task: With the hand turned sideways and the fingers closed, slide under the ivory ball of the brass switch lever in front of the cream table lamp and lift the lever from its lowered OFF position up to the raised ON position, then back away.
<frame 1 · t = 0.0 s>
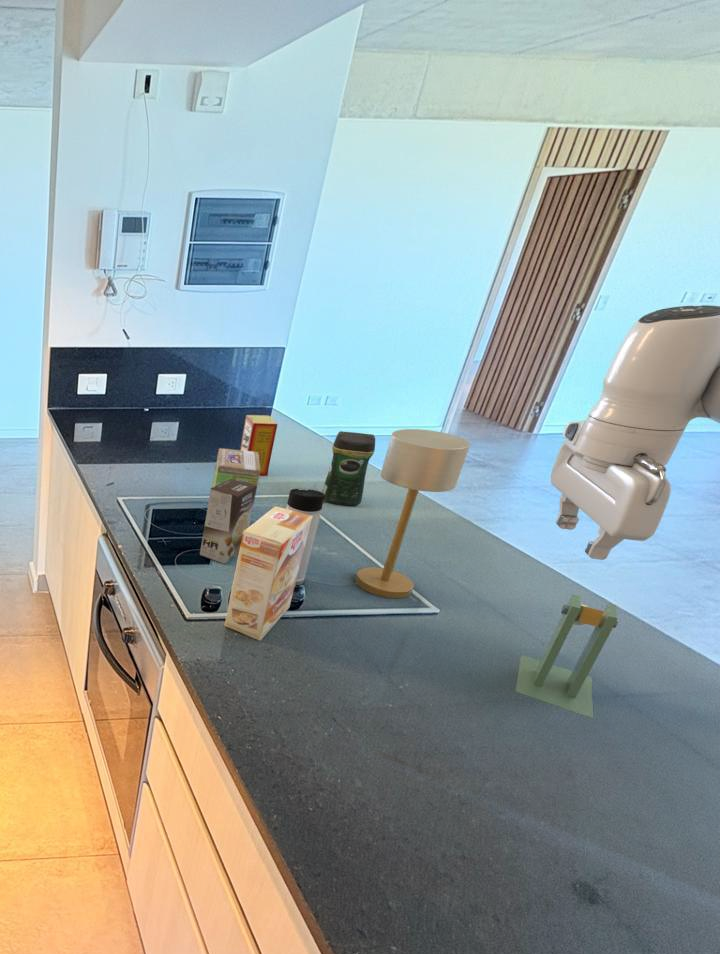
hand: (578, 541, 83), 27 cm above the worktop, tool pointing down, fingers open, 8 cm apart
coffee box: (221, 554, 138), on the worktop
lever: (582, 614, 94), point 12 cm above the worktop, hinge at -25.0°
tea box: (228, 513, 158), on the worktop
table lamp: (383, 585, 125), on the worktop
travel mug: (286, 580, 127), on the worktop
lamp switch: (551, 690, 96), on the worktop
baking soda box: (251, 470, 186), on the worktop
coffee jar: (339, 501, 165), on the worktop
coffeecake box: (257, 617, 115), on the worktop
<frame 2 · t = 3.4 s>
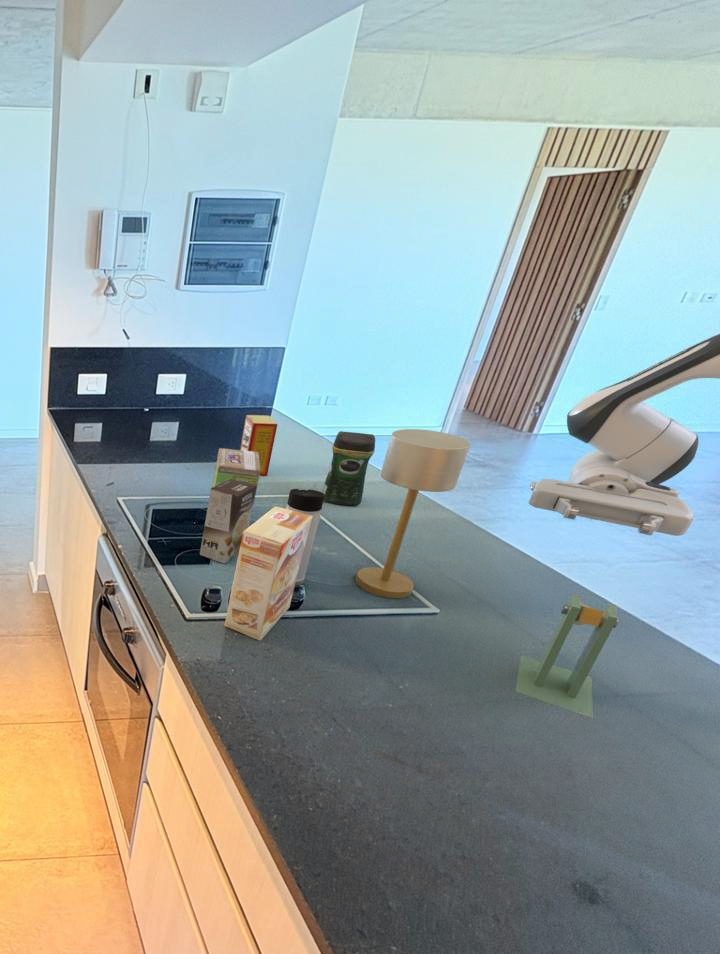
hand: (608, 522, 100), 22 cm above the worktop, tool horizontal, fingers open, 8 cm apart
nothing on the worktop moved.
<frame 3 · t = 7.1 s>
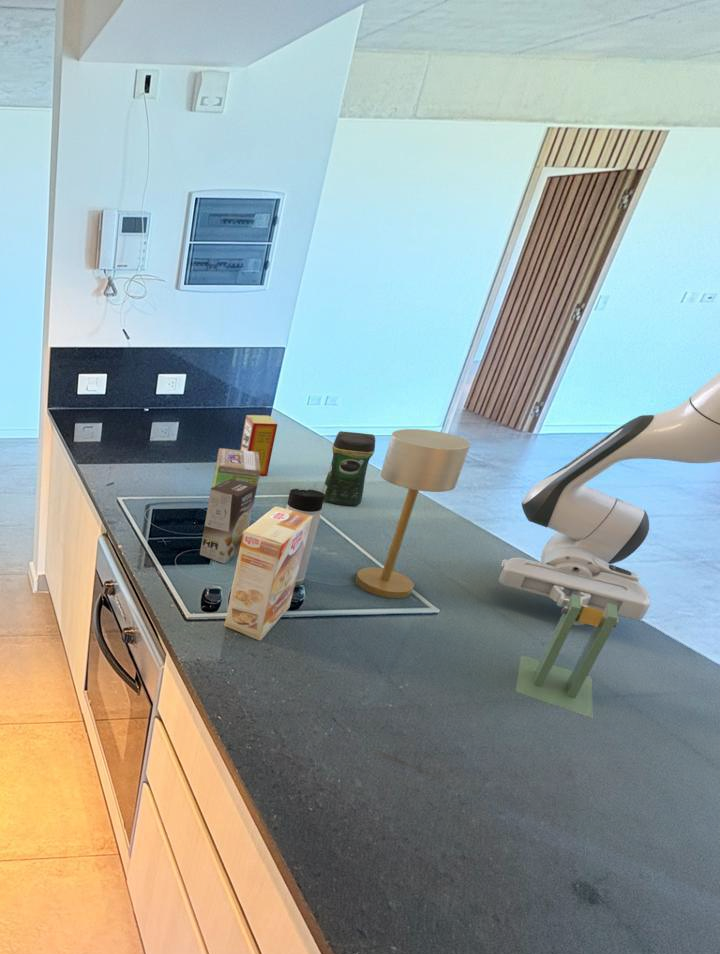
hand: (569, 605, 107), 6 cm above the worktop, tool horizontal, fingers closed
nothing on the worktop moved.
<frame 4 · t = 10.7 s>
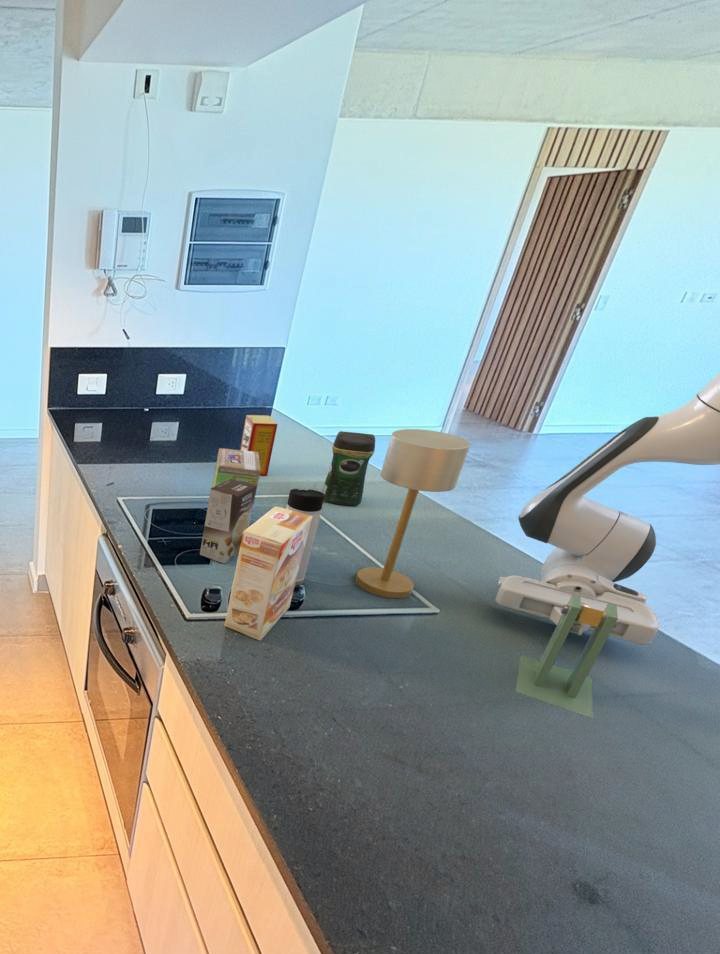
hand: (571, 628, 99), 7 cm above the worktop, tool horizontal, fingers closed, pressing on lever
lever: (582, 614, 94), point 12 cm above the worktop, hinge at -24.0°, touching gripper
everything else where it was.
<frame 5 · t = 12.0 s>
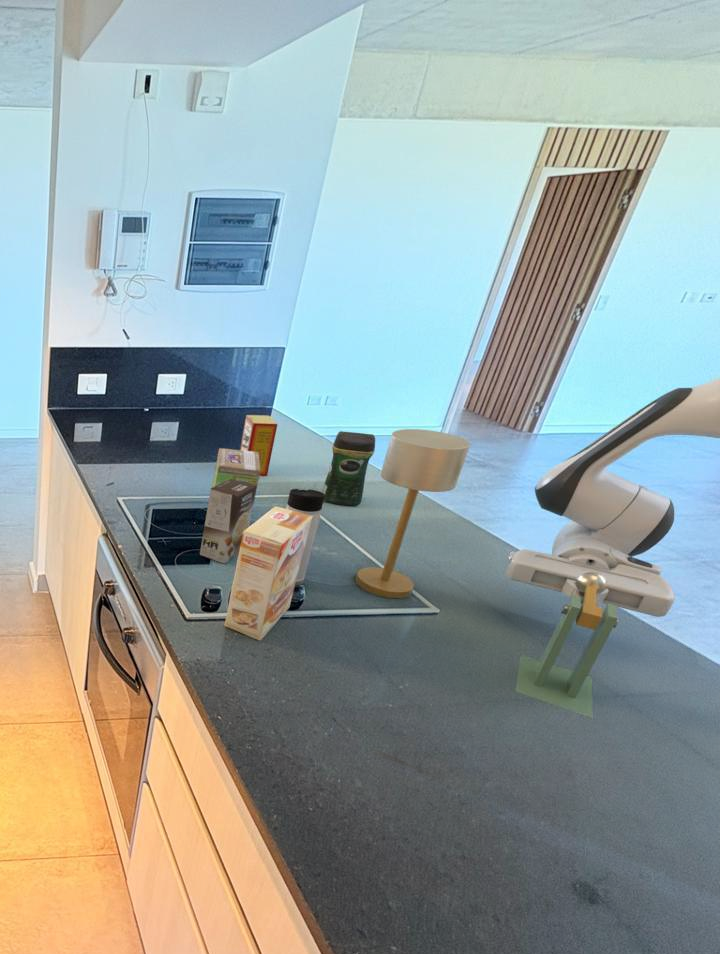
hand: (584, 600, 97), 12 cm above the worktop, tool horizontal, fingers closed, pressing on lever
lever: (590, 598, 93), point 15 cm above the worktop, hinge at 5.7°, touching gripper
everything else where it was.
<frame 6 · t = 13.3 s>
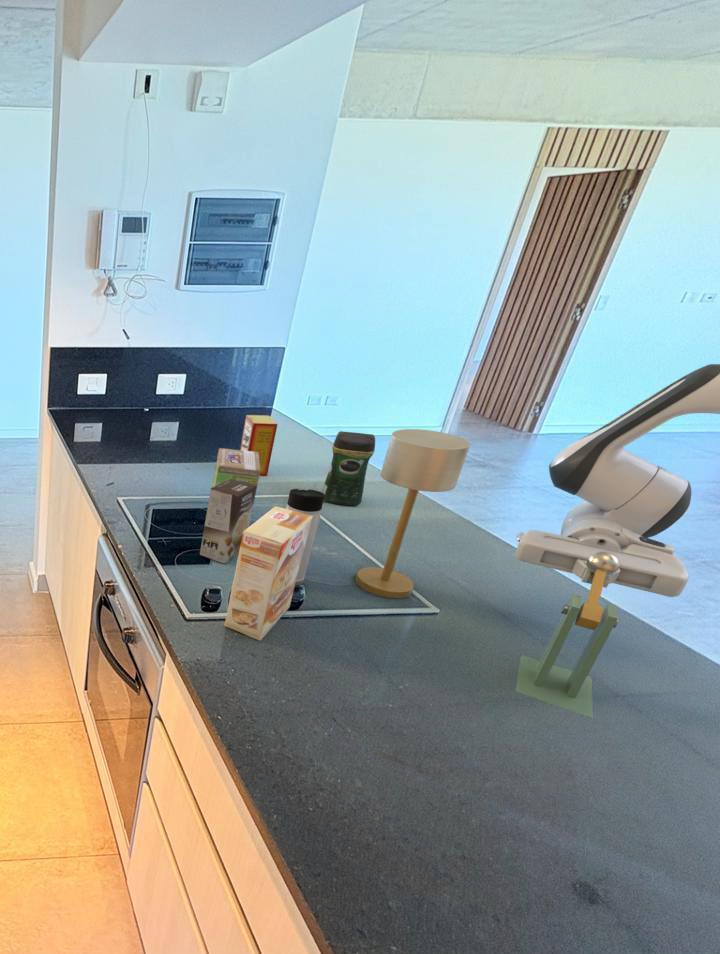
hand: (596, 580, 94), 16 cm above the worktop, tool horizontal, fingers closed, pressing on lever
lever: (596, 588, 92), point 17 cm above the worktop, hinge at 30.8°, touching gripper
everything else where it was.
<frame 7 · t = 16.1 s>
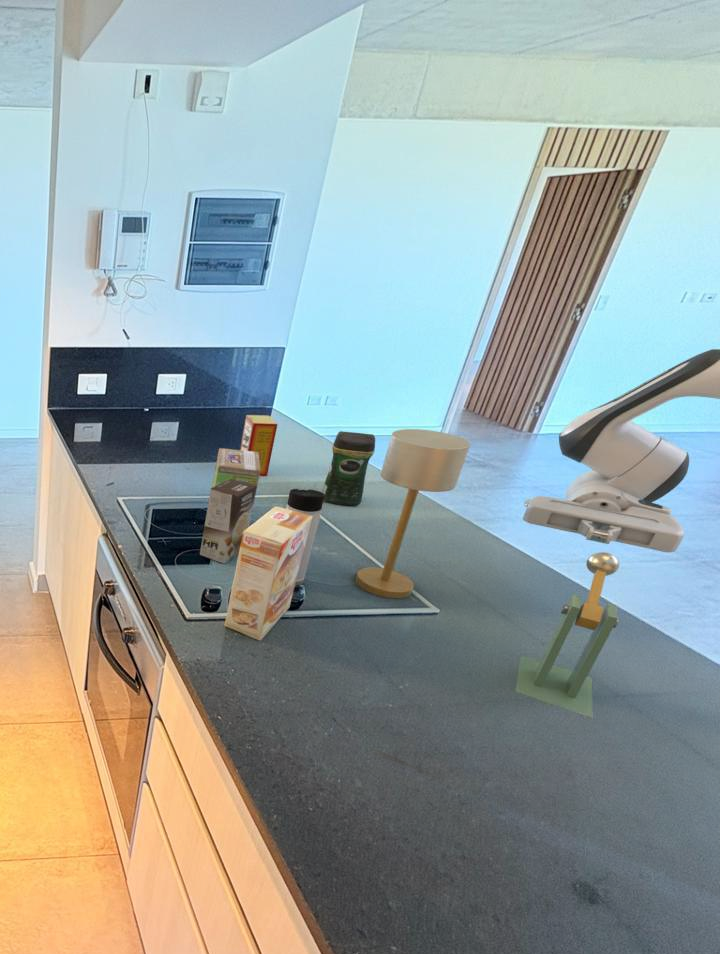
hand: (599, 537, 102), 19 cm above the worktop, tool horizontal, fingers closed
lever: (596, 588, 92), point 17 cm above the worktop, hinge at 30.3°
everything else where it was.
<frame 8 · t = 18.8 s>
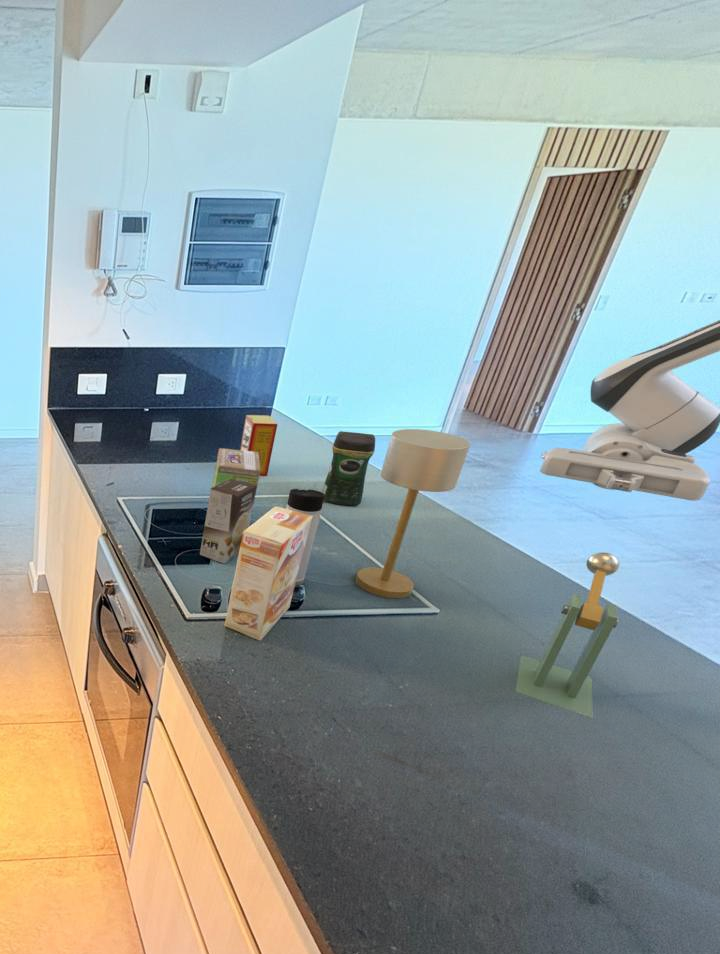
hand: (621, 485, 98), 28 cm above the worktop, tool horizontal, fingers closed
nothing on the worktop moved.
at the end: lever at +30° (first picture: -25°); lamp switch 33.2 cm from the table lamp (horizontally); the gripper is holding nothing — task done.
